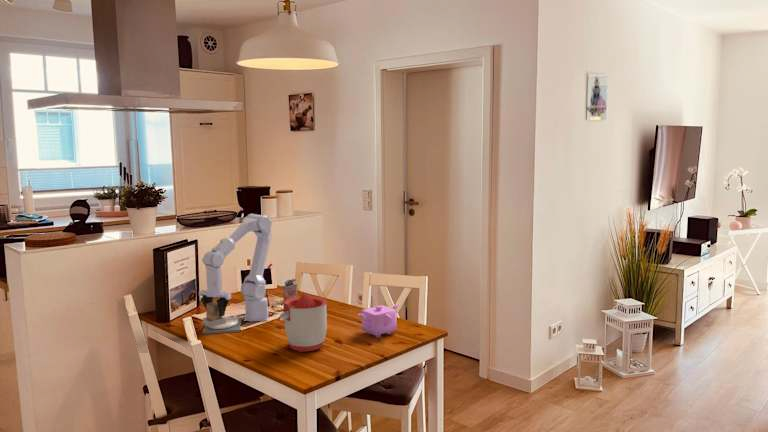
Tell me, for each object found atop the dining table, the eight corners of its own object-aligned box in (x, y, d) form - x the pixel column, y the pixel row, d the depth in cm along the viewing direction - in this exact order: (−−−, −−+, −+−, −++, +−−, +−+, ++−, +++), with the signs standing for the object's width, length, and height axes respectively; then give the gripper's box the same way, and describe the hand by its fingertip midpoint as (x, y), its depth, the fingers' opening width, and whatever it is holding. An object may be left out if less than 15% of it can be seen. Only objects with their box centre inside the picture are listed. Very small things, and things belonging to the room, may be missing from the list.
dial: (229, 317, 250) (229, 310, 250) (243, 324, 241) (242, 316, 241) (200, 324, 242) (199, 316, 242) (213, 331, 233) (212, 323, 233)
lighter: (286, 303, 275) (286, 282, 274) (281, 302, 277) (280, 281, 276) (299, 299, 282) (298, 278, 280) (294, 298, 284) (293, 277, 282)
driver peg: (214, 319, 242) (214, 301, 240) (221, 322, 240) (220, 303, 238) (206, 322, 239) (206, 303, 237) (213, 325, 236) (212, 306, 235)
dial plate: (241, 320, 250) (241, 318, 250) (239, 331, 236) (239, 329, 236) (207, 322, 248) (207, 320, 248) (202, 334, 234) (202, 331, 234)
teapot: (366, 326, 241) (366, 299, 240) (399, 327, 239) (399, 301, 237) (357, 339, 227) (357, 311, 225) (392, 341, 224) (392, 312, 222)
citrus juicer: (274, 345, 221) (272, 292, 218) (318, 336, 229) (316, 285, 227) (289, 358, 208) (287, 302, 205) (335, 349, 216) (333, 295, 213)
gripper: (192, 282, 236) (194, 315, 238) (222, 285, 230) (223, 320, 232) (205, 278, 242) (206, 310, 244) (234, 281, 236) (235, 315, 238)
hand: (215, 315), depth 238 cm, fingers open, 6 cm apart
